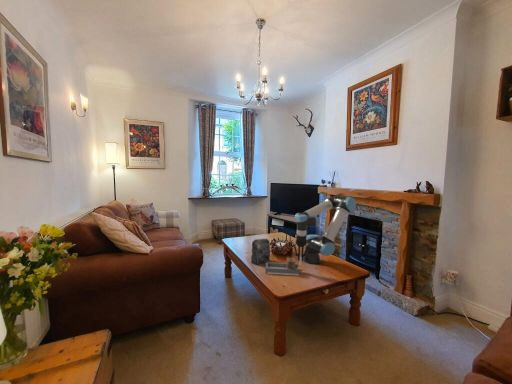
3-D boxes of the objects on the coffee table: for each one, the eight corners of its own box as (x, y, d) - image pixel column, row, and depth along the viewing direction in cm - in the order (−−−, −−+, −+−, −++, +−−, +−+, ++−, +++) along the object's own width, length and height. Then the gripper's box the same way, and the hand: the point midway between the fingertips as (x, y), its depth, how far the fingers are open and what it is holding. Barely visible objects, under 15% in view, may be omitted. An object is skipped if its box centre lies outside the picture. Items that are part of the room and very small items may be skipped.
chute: (297, 268, 182) (297, 263, 181) (299, 275, 169) (299, 270, 169) (265, 266, 184) (266, 261, 183) (265, 273, 171) (265, 268, 171)
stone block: (255, 265, 185) (255, 242, 183) (249, 262, 192) (249, 239, 191) (272, 261, 195) (273, 238, 193) (266, 257, 203) (267, 236, 201)
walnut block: (294, 267, 180) (294, 257, 179) (294, 272, 172) (295, 261, 171) (286, 267, 180) (286, 257, 179) (287, 271, 172) (287, 261, 171)
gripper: (309, 234, 176) (307, 263, 178) (292, 233, 177) (291, 262, 179) (310, 236, 169) (309, 267, 171) (293, 235, 169) (292, 266, 172)
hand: (300, 264), depth 175 cm, fingers closed
